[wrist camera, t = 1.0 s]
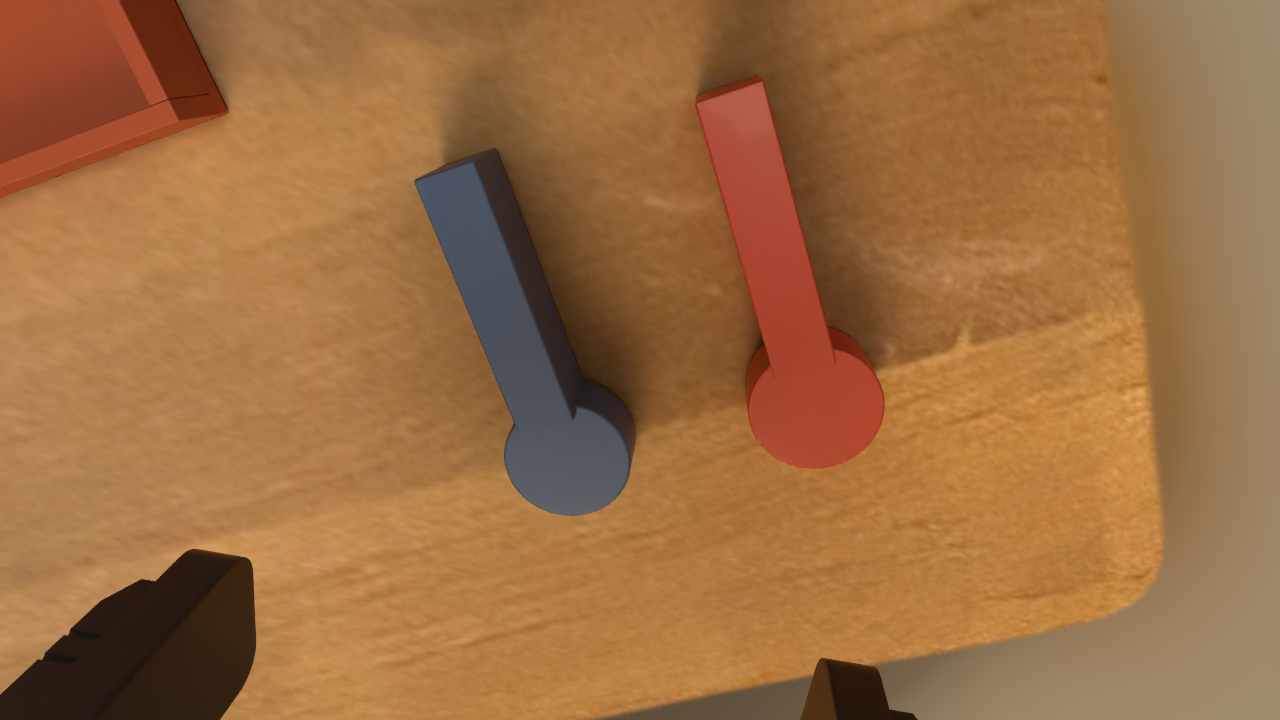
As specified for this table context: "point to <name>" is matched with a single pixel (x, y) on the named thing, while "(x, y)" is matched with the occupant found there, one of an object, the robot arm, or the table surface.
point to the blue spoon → (527, 345)
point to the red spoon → (785, 296)
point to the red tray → (93, 83)
